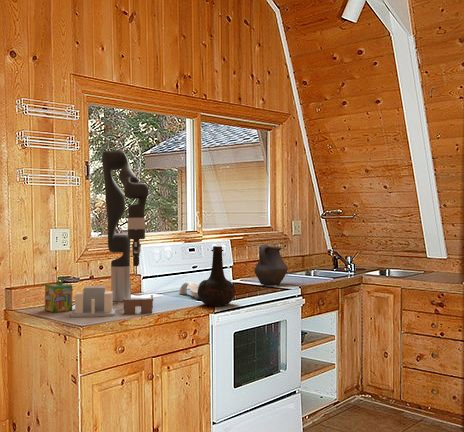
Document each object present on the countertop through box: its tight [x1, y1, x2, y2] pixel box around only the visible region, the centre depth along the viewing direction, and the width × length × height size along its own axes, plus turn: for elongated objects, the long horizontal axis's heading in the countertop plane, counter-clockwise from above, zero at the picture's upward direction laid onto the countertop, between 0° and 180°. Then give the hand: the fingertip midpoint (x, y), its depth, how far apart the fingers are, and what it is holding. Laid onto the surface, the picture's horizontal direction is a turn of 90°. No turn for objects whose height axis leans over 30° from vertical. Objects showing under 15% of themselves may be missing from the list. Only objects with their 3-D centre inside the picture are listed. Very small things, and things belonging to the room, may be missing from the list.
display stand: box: [70, 285, 117, 318], centre depth 244 cm, size 14×18×11 cm
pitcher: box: [254, 244, 288, 286], centre depth 343 cm, size 21×22×25 cm
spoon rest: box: [178, 282, 199, 299], centre depth 296 cm, size 24×12×7 cm, turn 41°
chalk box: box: [44, 276, 73, 313], centre depth 253 cm, size 9×9×15 cm
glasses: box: [122, 294, 154, 315], centre depth 252 cm, size 14×13×6 cm
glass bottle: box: [198, 245, 236, 307], centre depth 268 cm, size 18×18×28 cm
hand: (136, 265), depth 246 cm, fingers open, 8 cm apart
